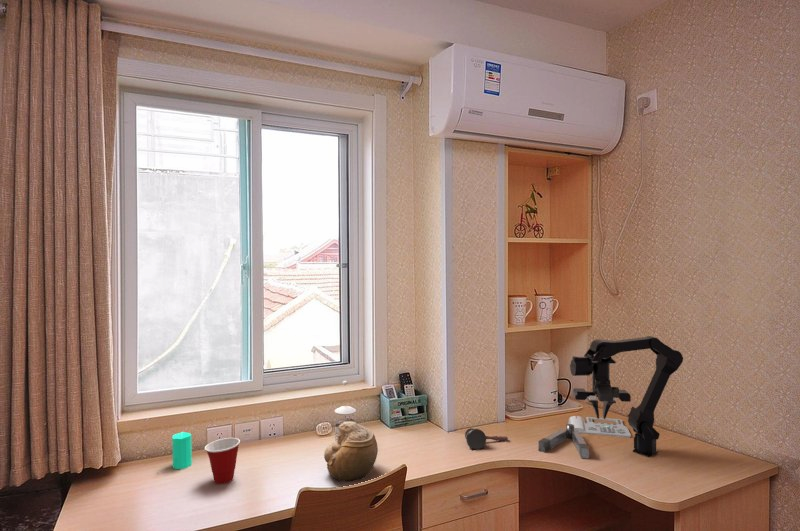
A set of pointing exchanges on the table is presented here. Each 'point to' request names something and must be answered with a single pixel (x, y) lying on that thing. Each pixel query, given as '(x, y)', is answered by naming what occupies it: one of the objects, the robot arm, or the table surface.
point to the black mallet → (479, 438)
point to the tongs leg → (580, 444)
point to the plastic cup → (223, 458)
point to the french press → (343, 411)
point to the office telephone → (599, 426)
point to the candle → (182, 450)
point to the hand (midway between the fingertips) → (601, 418)
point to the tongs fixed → (556, 438)
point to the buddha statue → (351, 452)
